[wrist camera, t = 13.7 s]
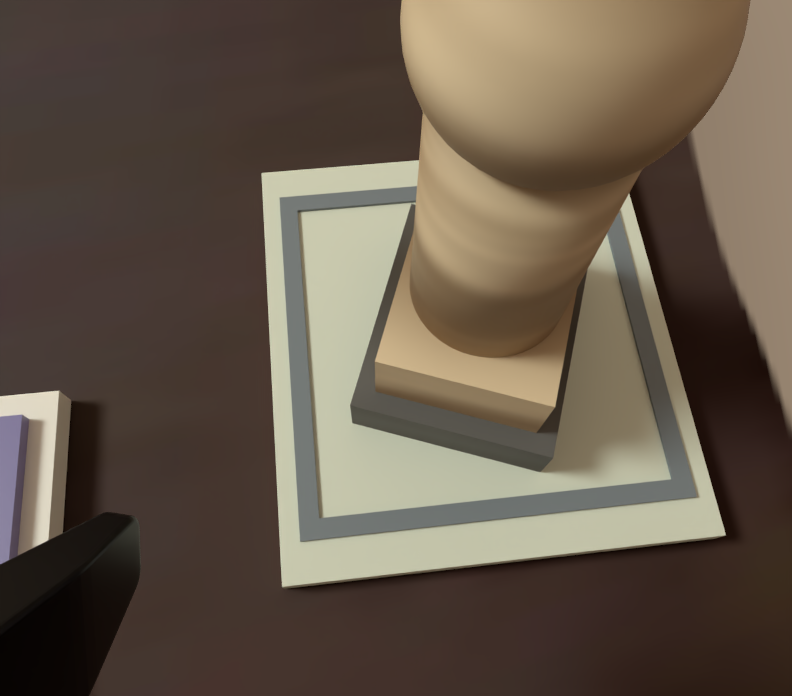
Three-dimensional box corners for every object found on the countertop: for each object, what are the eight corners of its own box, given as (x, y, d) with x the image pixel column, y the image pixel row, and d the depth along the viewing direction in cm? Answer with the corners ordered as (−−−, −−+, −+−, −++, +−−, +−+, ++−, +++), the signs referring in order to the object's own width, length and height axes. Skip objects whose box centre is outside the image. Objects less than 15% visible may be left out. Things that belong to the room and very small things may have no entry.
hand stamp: (540, 472, 18) (857, 126, 6) (352, 423, 19) (299, 6, 7) (577, 273, 21) (863, -270, 8) (409, 233, 21) (448, -341, 9)
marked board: (715, 538, 18) (727, 534, 18) (285, 588, 18) (281, 586, 17) (609, 156, 23) (616, 142, 22) (264, 184, 22) (261, 171, 22)
